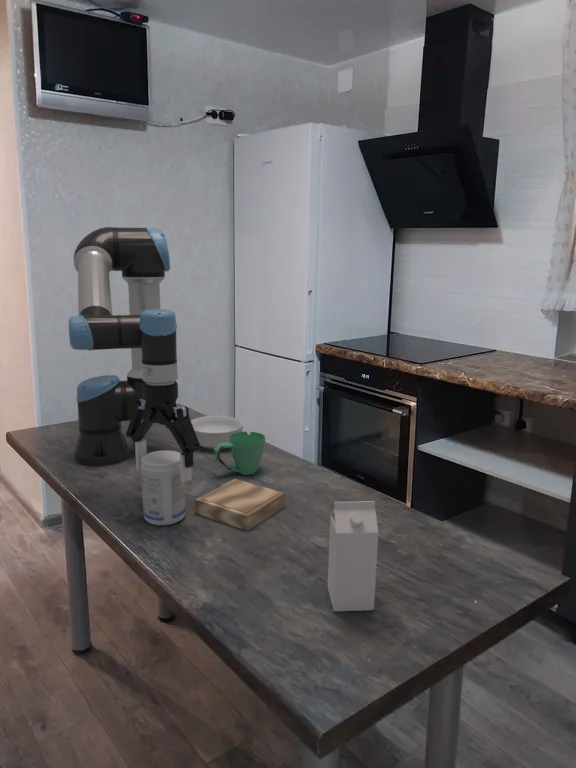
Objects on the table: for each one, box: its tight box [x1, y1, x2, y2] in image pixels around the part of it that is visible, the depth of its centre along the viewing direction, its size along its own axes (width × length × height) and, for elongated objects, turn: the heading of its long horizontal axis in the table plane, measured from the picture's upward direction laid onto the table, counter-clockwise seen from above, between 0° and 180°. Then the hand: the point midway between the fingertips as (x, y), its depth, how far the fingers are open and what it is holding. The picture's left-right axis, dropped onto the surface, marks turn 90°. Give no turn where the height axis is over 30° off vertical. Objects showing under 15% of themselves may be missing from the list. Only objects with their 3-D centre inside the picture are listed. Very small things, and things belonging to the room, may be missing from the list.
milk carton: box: [327, 500, 379, 612], centre depth 105 cm, size 7×7×19 cm
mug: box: [213, 431, 266, 476], centre depth 163 cm, size 15×10×10 cm
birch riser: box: [194, 478, 286, 532], centre depth 142 cm, size 15×15×4 cm
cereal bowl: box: [190, 415, 244, 450], centre depth 185 cm, size 17×17×7 cm
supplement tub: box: [140, 449, 187, 526], centre depth 136 cm, size 10×10×15 cm
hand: (163, 474), depth 135 cm, fingers open, 13 cm apart
